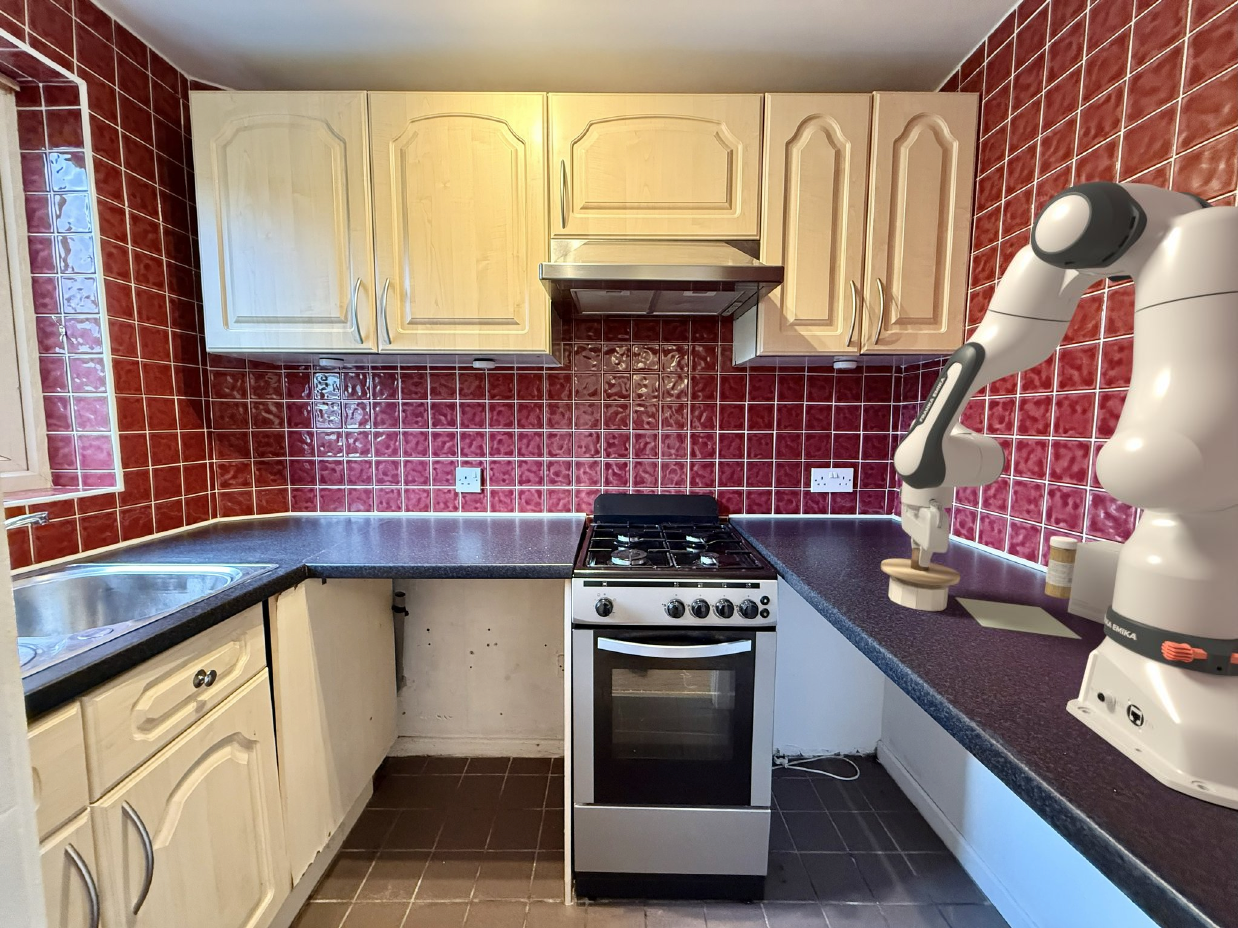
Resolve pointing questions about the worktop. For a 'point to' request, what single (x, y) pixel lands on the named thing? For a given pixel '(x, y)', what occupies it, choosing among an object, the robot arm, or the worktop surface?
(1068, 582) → the sprinkles bottle
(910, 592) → the bowl
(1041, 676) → the worktop surface
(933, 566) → the lid
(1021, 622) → the mat
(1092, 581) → the supplement box
